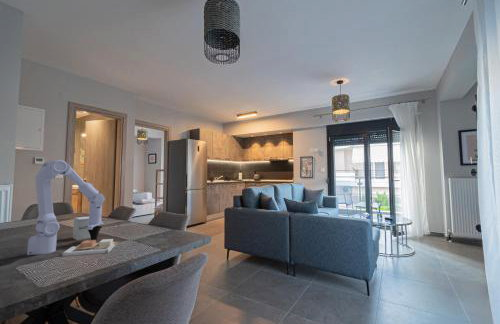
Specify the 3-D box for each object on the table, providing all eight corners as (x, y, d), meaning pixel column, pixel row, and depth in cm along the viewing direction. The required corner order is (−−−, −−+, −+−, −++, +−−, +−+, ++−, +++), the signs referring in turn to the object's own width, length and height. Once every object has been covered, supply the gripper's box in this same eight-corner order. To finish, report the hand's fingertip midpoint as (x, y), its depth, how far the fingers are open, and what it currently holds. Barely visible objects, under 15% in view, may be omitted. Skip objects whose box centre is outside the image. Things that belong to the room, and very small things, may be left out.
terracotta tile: (80, 247, 112) (80, 243, 113) (84, 244, 117) (84, 240, 117) (92, 246, 114) (92, 242, 114) (95, 243, 119) (95, 239, 119)
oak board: (72, 251, 109) (72, 249, 109) (80, 246, 118) (80, 243, 118) (114, 248, 115) (114, 246, 115) (118, 243, 123) (119, 241, 123)
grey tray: (61, 258, 100) (61, 253, 100) (71, 251, 109) (72, 246, 109) (107, 255, 105) (108, 249, 105) (114, 248, 114) (114, 243, 114)
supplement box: (76, 242, 125) (78, 219, 126) (72, 240, 129) (73, 217, 130) (92, 239, 131) (93, 217, 132) (87, 237, 135) (88, 216, 136)
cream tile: (98, 246, 115) (99, 242, 115) (102, 243, 119) (102, 239, 120) (110, 245, 116) (110, 241, 116) (112, 242, 121) (113, 238, 121)
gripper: (99, 217, 118) (97, 243, 117) (107, 212, 132) (106, 236, 131) (83, 217, 116) (81, 244, 115) (93, 213, 130) (92, 237, 129)
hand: (93, 240), depth 123 cm, fingers closed
